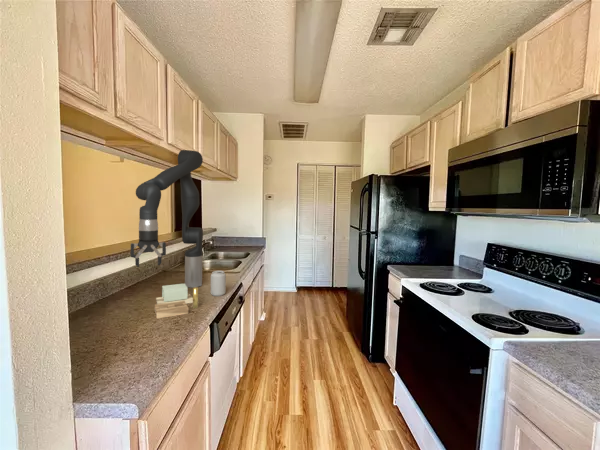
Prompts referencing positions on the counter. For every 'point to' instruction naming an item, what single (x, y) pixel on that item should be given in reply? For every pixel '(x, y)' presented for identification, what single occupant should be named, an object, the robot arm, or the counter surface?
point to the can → (218, 283)
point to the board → (188, 300)
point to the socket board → (171, 309)
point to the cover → (174, 292)
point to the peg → (195, 297)
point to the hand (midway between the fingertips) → (148, 265)
